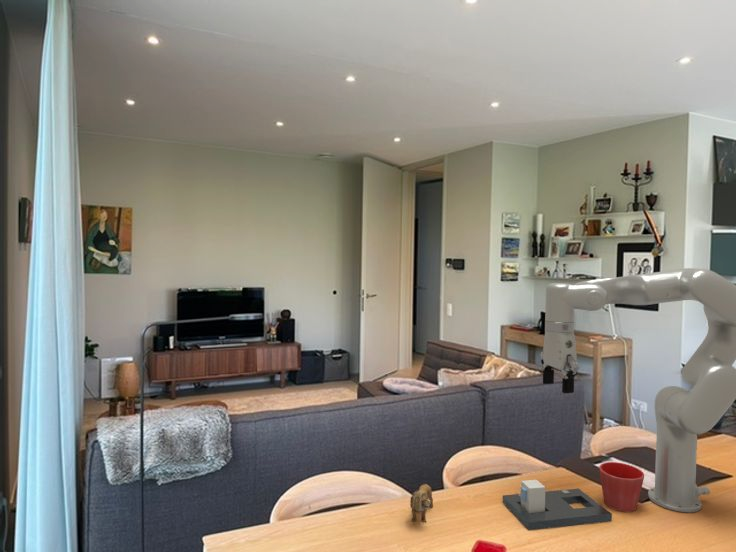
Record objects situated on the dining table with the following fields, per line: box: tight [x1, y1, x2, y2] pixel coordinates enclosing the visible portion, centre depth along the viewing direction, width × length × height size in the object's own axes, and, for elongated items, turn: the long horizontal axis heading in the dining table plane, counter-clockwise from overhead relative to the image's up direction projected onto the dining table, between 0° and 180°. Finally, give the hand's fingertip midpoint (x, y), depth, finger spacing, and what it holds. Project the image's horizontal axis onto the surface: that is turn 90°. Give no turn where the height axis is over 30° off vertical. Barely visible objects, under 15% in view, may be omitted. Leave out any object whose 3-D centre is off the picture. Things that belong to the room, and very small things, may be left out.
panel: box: [502, 488, 613, 531], centre depth 133 cm, size 23×14×2 cm, turn 101°
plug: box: [519, 479, 546, 513], centre depth 131 cm, size 5×4×8 cm
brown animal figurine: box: [409, 483, 434, 523], centre depth 130 cm, size 15×5×9 cm, turn 169°
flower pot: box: [598, 461, 645, 513], centre depth 136 cm, size 11×11×10 cm
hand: (557, 388), depth 141 cm, fingers open, 9 cm apart
